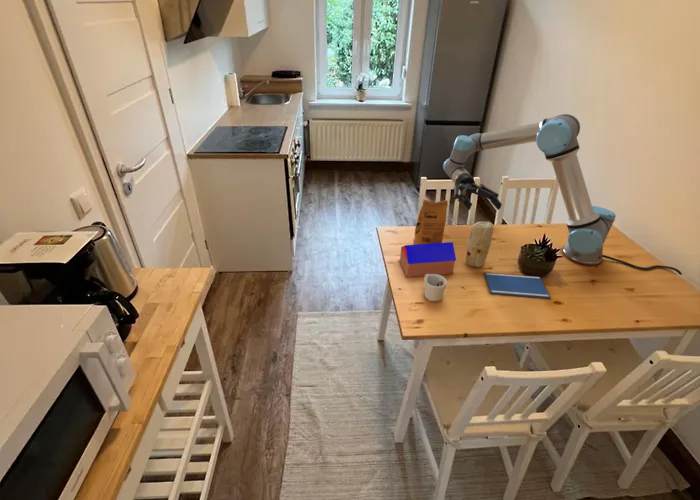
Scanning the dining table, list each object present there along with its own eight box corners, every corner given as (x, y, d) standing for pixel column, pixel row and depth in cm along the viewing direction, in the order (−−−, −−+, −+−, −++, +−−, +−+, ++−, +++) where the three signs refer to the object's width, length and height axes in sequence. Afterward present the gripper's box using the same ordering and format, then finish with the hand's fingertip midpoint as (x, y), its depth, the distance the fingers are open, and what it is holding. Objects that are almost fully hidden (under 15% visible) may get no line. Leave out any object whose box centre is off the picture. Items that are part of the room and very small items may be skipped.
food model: (480, 258, 168) (490, 218, 157) (488, 267, 162) (499, 225, 151) (460, 261, 165) (469, 220, 154) (467, 270, 160) (477, 228, 149)
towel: (539, 277, 157) (539, 276, 156) (549, 298, 146) (550, 297, 145) (484, 273, 158) (484, 272, 158) (490, 293, 147) (491, 292, 147)
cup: (414, 288, 149) (417, 271, 145) (432, 284, 152) (435, 267, 147) (429, 306, 141) (432, 289, 136) (447, 301, 143) (451, 284, 139)
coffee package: (413, 236, 181) (418, 194, 169) (439, 238, 181) (447, 195, 169) (414, 248, 173) (420, 204, 161) (442, 250, 172) (450, 206, 160)
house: (453, 273, 158) (458, 250, 151) (406, 277, 155) (409, 253, 148) (443, 257, 168) (447, 234, 161) (398, 260, 165) (401, 237, 158)
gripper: (484, 188, 177) (508, 214, 161) (435, 187, 171) (454, 214, 155) (490, 173, 172) (515, 199, 156) (440, 172, 166) (460, 198, 150)
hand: (485, 206), depth 155 cm, fingers open, 13 cm apart
